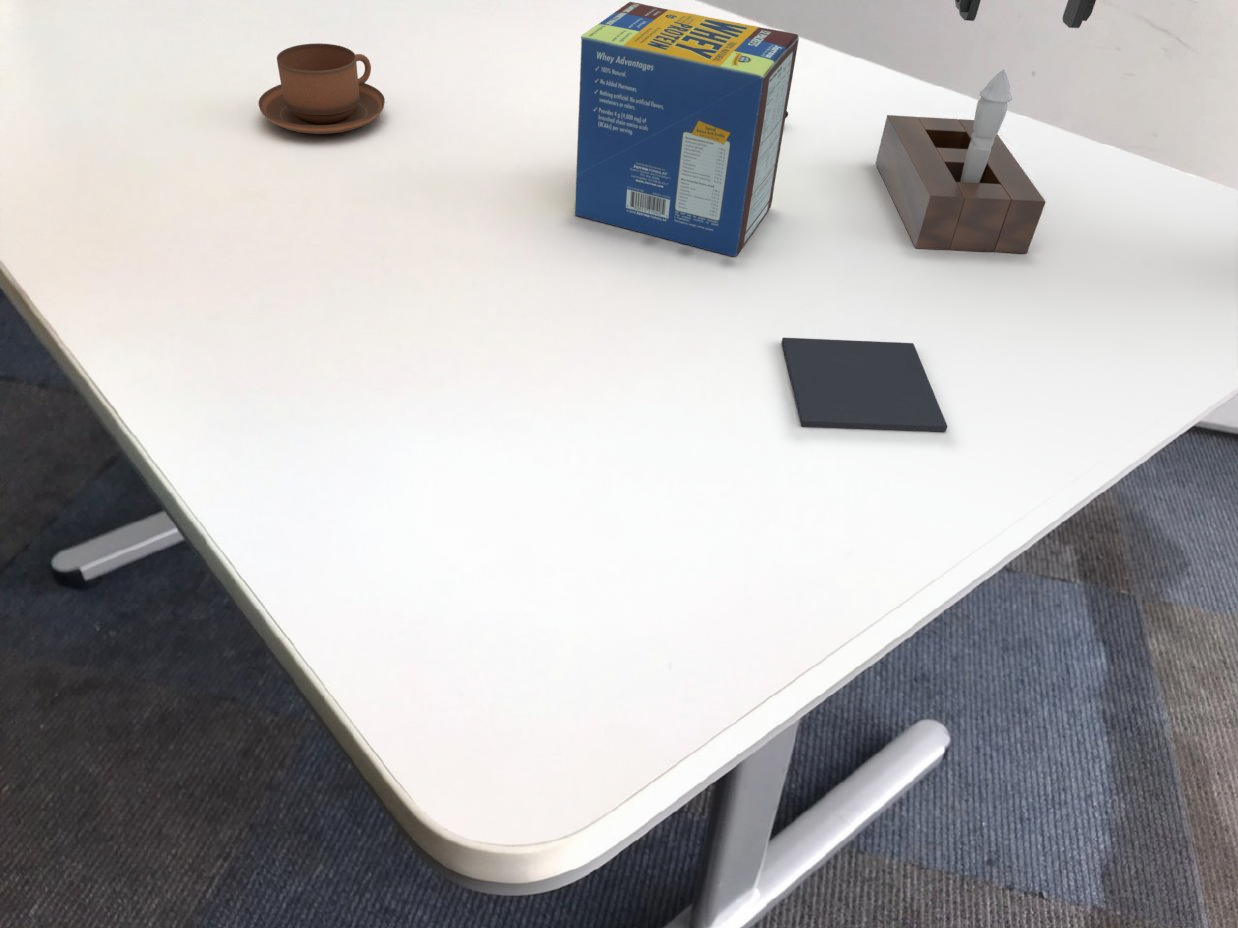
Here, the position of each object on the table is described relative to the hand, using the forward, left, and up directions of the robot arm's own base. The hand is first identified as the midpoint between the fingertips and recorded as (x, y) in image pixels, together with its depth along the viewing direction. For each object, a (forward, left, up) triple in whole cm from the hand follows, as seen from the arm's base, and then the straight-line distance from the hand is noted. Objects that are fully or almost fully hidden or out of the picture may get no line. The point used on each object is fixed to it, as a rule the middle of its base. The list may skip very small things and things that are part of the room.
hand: (1018, 21), depth 81 cm
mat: (+14, +26, -18) cm, 34 cm away
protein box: (+26, +1, -18) cm, 32 cm away
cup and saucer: (+60, -15, -18) cm, 65 cm away
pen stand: (0, -3, -18) cm, 18 cm away
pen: (0, 0, -18) cm, 18 cm away
